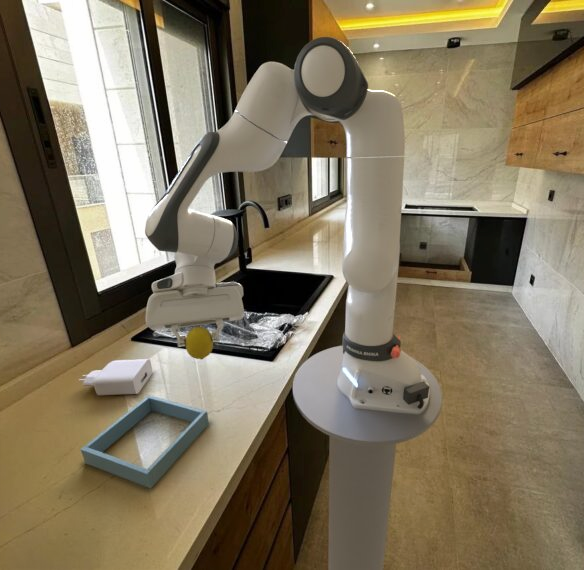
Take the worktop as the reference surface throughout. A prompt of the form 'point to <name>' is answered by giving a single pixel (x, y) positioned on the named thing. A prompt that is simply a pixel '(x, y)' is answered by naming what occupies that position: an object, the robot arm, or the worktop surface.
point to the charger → (120, 377)
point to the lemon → (199, 343)
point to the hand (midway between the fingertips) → (198, 343)
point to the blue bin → (127, 421)
